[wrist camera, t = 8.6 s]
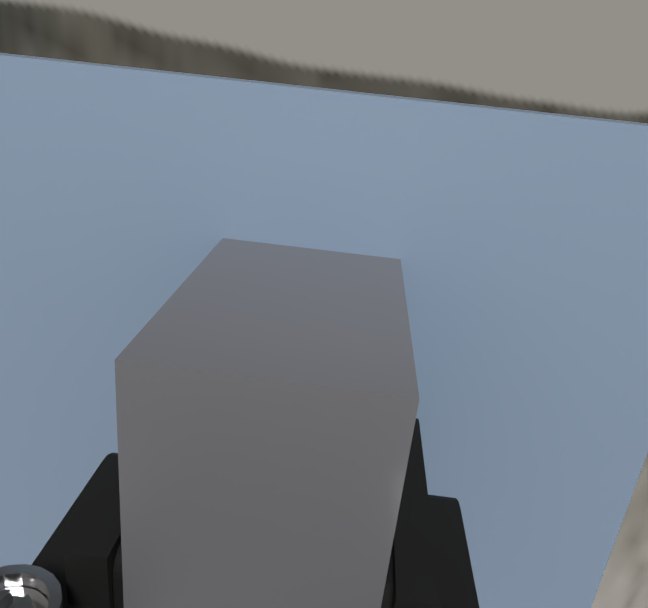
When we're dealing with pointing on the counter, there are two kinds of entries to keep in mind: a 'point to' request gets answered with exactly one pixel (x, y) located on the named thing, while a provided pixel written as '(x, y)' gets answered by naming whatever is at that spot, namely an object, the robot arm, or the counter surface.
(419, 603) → the robot arm
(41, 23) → the counter surface
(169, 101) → the lid
